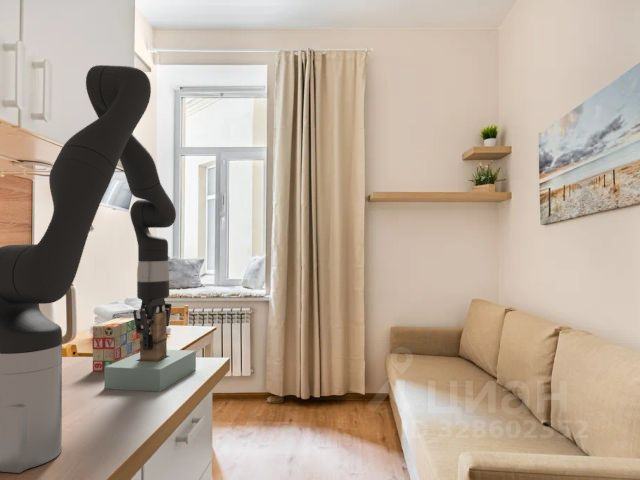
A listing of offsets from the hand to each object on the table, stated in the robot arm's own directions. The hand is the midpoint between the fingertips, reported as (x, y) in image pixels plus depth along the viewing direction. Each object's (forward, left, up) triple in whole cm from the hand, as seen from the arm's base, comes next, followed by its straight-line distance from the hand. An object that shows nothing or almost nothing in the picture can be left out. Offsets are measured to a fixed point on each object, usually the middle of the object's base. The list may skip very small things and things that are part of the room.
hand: (153, 347), depth 109 cm
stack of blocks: (+14, +18, -8) cm, 24 cm away
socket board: (0, 0, -8) cm, 8 cm away
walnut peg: (0, 0, -3) cm, 3 cm away
